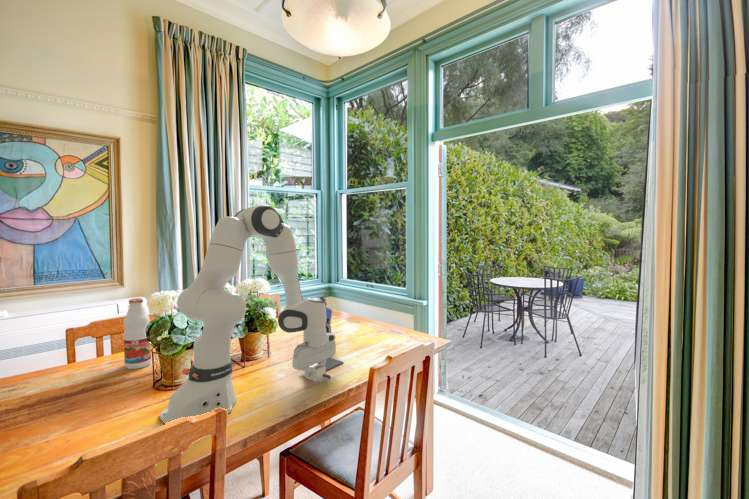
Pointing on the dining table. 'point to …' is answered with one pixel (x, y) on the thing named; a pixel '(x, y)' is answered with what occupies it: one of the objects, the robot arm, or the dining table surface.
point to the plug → (317, 373)
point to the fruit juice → (136, 336)
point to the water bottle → (327, 316)
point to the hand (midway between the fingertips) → (314, 373)
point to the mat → (331, 363)
